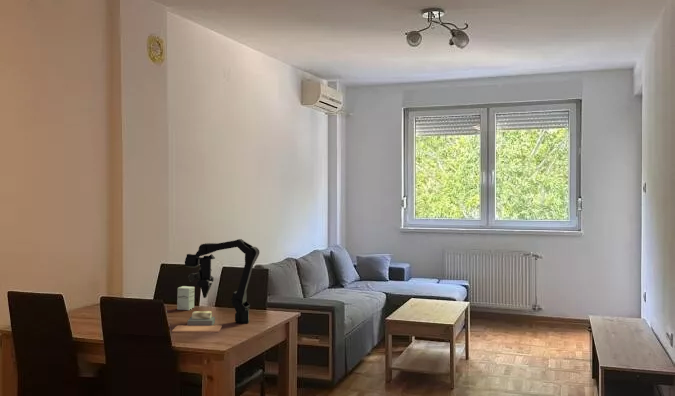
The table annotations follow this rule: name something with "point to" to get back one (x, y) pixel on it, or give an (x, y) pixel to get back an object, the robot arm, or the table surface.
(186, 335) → the table surface
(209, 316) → the birch block
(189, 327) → the mat
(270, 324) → the table surface
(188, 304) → the supplement box
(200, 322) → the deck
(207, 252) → the robot arm
